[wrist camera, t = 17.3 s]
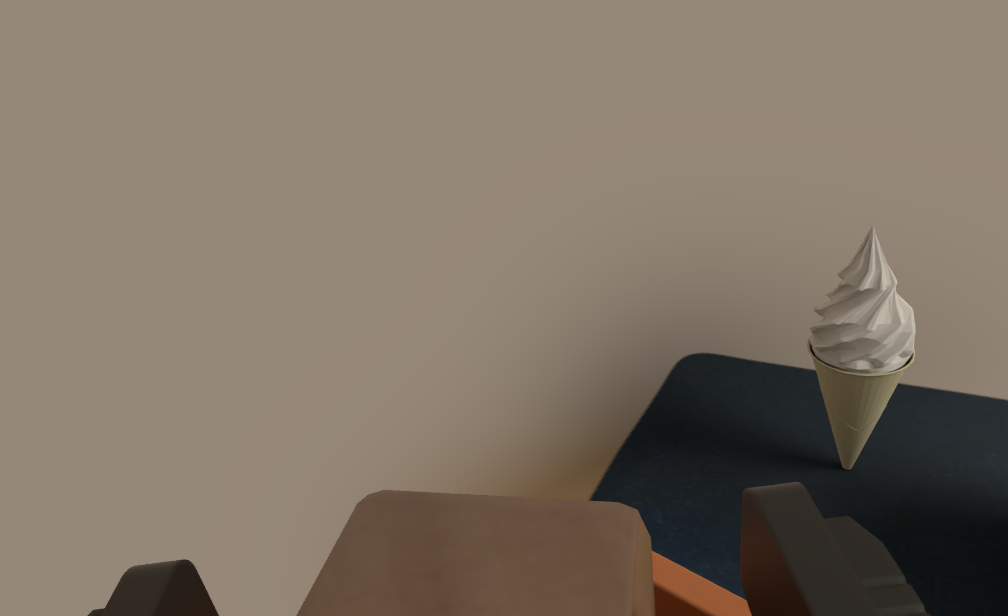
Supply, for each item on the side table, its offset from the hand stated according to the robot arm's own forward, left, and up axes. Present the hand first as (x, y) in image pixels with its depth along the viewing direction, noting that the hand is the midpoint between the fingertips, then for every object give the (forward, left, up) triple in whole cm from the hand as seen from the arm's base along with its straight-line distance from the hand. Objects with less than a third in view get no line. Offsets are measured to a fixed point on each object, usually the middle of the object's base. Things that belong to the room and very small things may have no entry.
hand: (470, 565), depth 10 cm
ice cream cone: (+30, +4, -22) cm, 37 cm away
